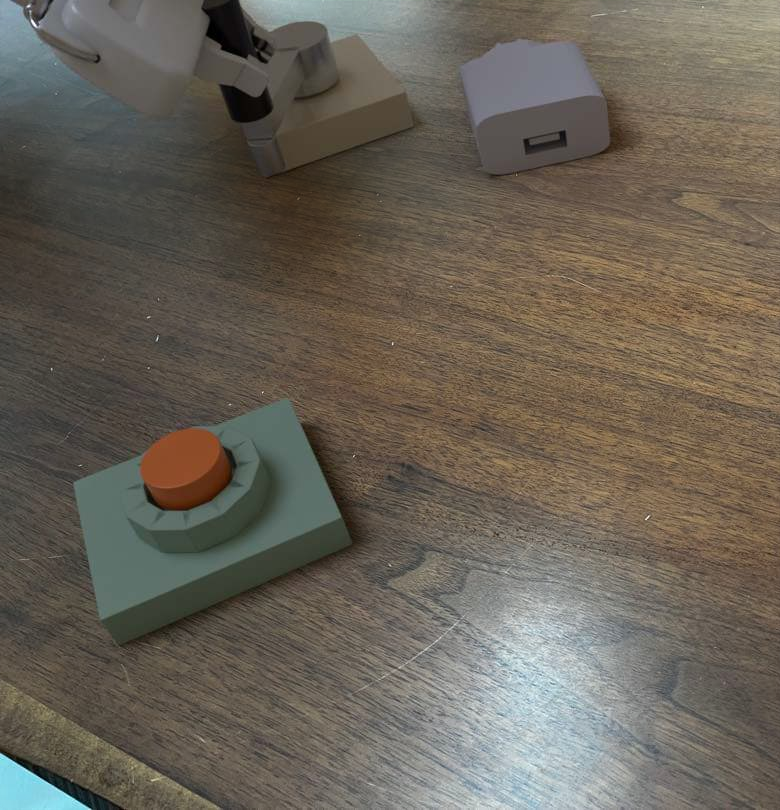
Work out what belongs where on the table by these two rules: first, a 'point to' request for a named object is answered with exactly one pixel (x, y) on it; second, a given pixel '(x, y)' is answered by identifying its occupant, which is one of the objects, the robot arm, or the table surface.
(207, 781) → the table surface
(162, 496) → the button
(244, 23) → the crank handle
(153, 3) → the robot arm
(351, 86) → the crank base
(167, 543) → the button box
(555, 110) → the charger
